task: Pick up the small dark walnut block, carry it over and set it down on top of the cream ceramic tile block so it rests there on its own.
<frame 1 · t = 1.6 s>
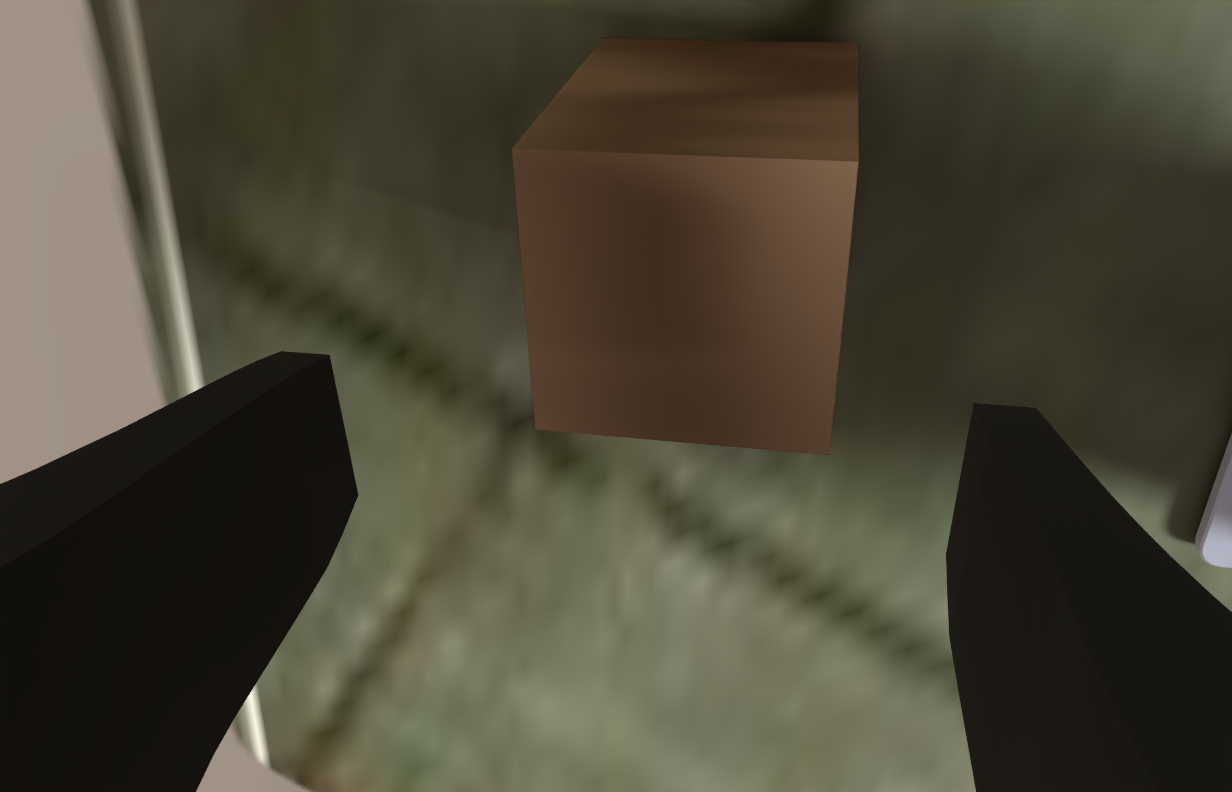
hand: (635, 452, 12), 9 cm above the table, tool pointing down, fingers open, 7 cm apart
walnut block: (724, 163, 20), on the table
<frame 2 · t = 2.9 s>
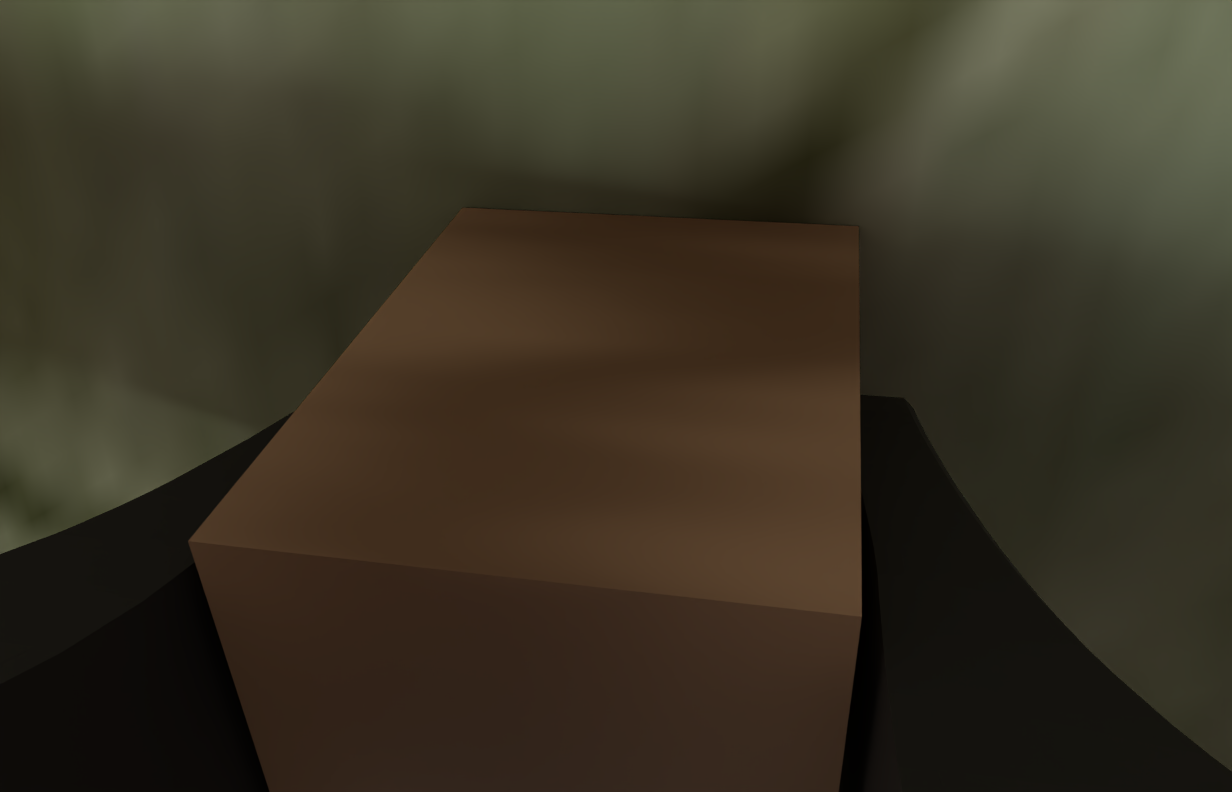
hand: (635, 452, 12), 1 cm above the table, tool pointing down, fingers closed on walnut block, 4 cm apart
walnut block: (655, 386, 13), on the table, touching gripper
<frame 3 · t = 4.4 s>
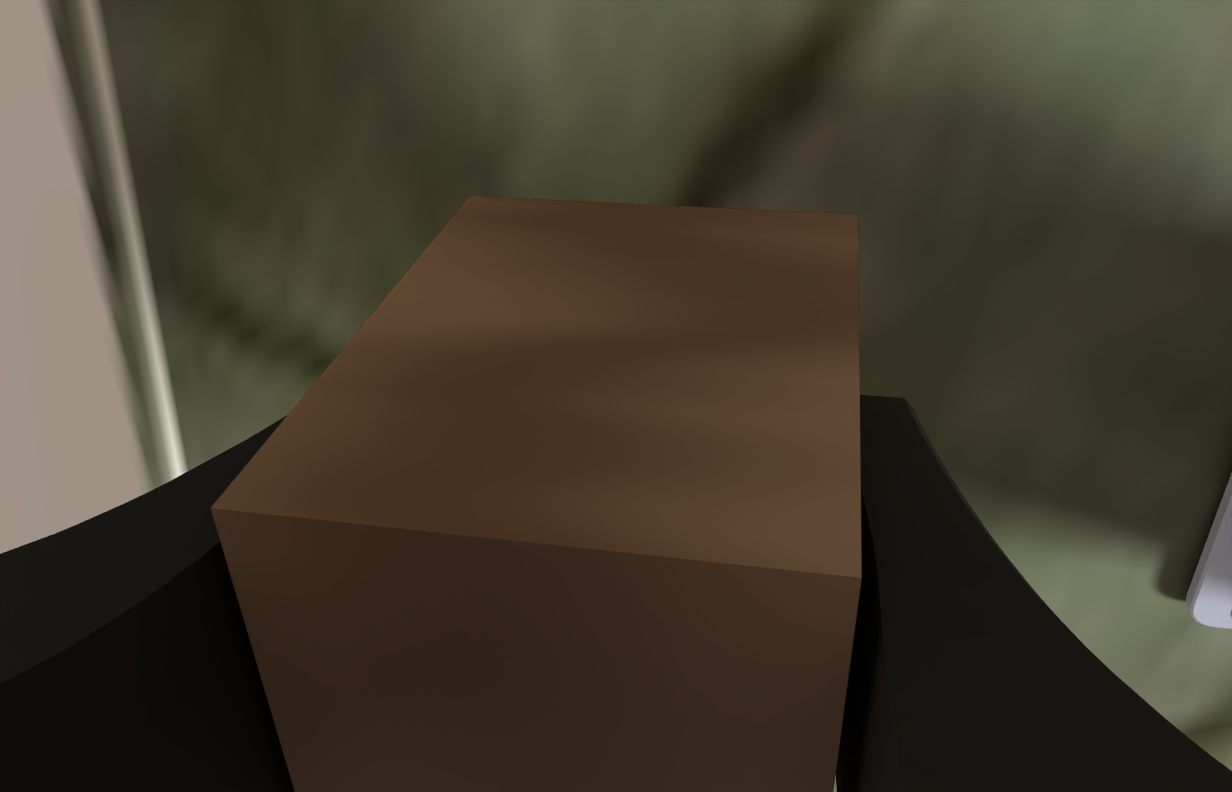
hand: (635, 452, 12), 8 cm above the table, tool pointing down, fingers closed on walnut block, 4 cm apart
walnut block: (658, 373, 13), point 7 cm above the table, touching gripper
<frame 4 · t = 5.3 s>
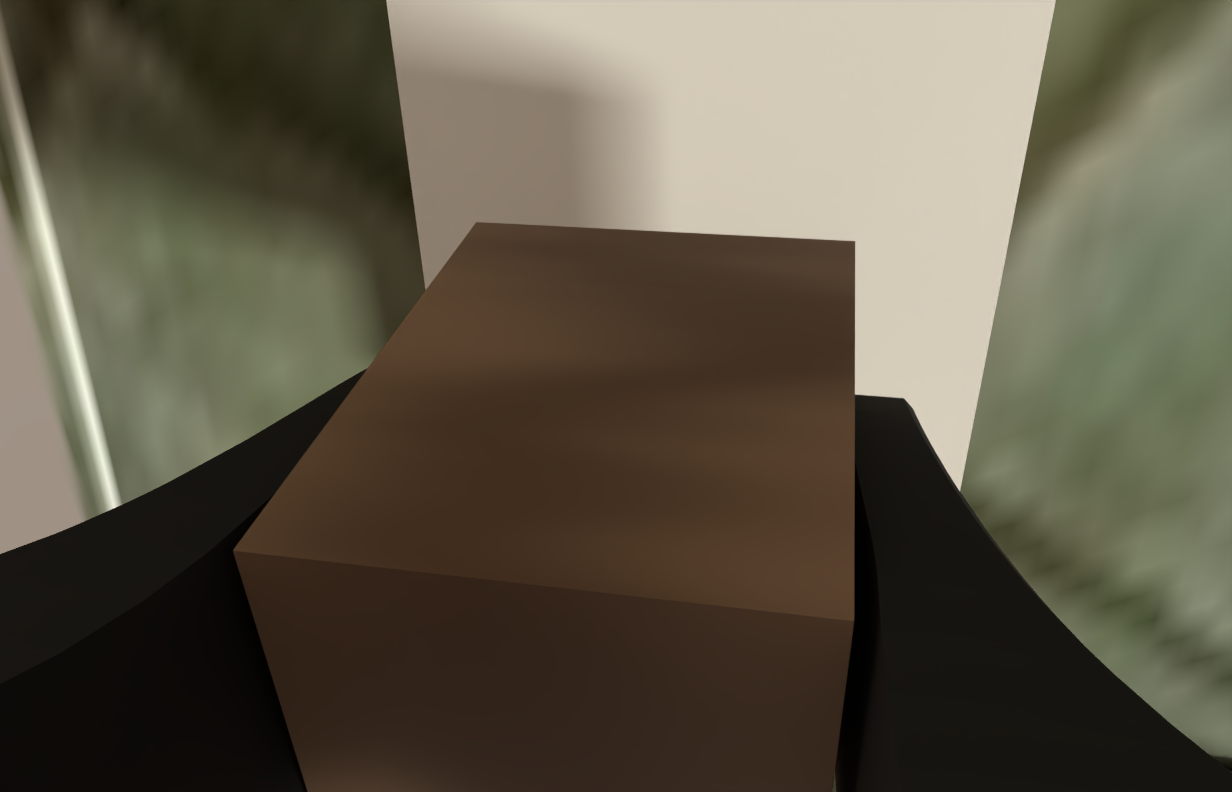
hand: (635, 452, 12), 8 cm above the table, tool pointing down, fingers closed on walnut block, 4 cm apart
cream tile block: (717, 189, 18), on the table
walnut block: (661, 391, 13), point 6 cm above the table, touching gripper
when the fingers open (6 cm above the table, at t = 6.0 s): walnut block drops 2 cm, resting on cream tile block.
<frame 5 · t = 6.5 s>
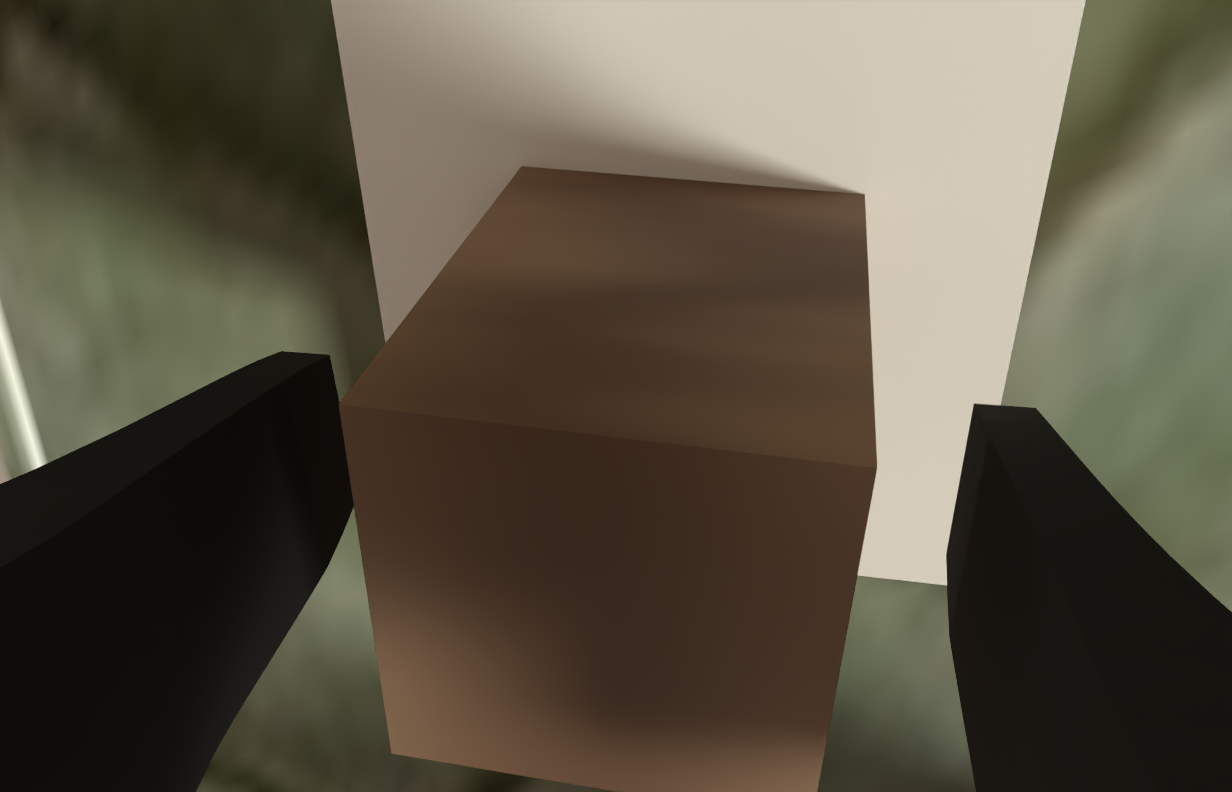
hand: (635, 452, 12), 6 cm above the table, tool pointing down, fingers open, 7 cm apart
cream tile block: (704, 226, 17), on the table, touching walnut block
walnut block: (680, 331, 15), point 2 cm above the table, touching cream tile block
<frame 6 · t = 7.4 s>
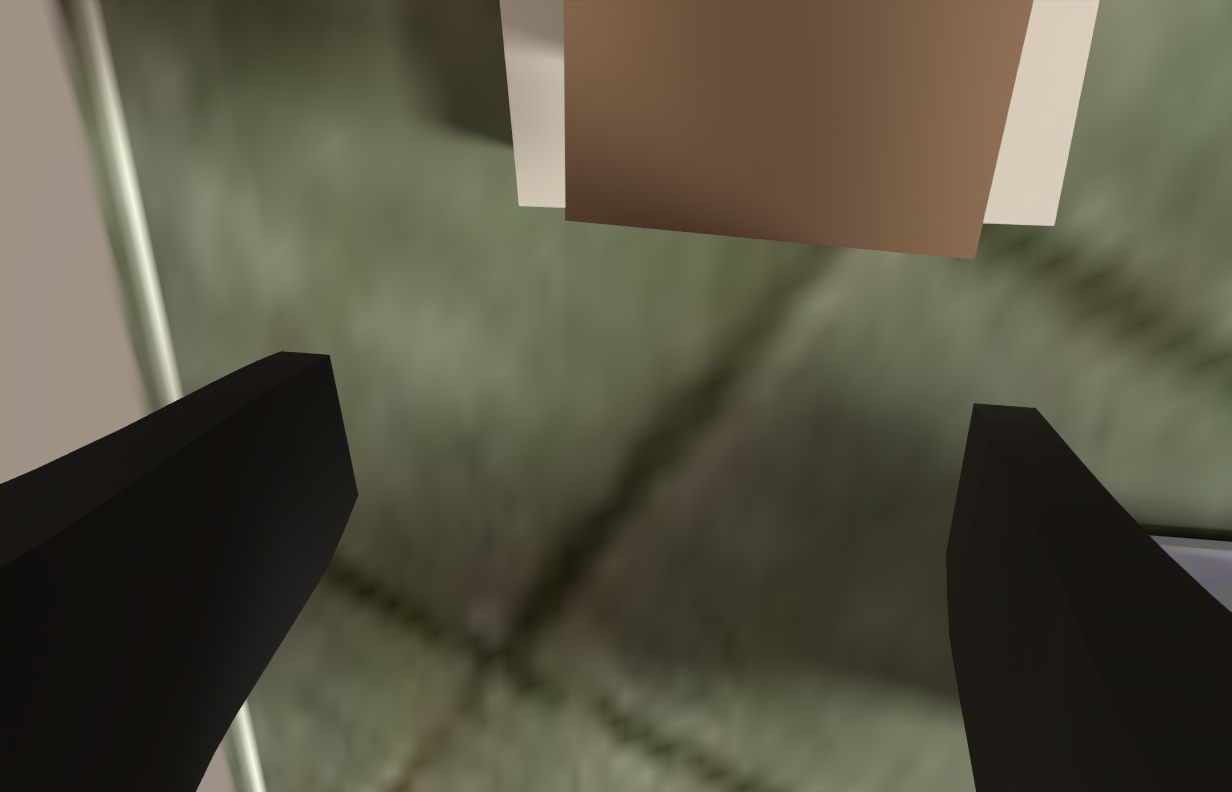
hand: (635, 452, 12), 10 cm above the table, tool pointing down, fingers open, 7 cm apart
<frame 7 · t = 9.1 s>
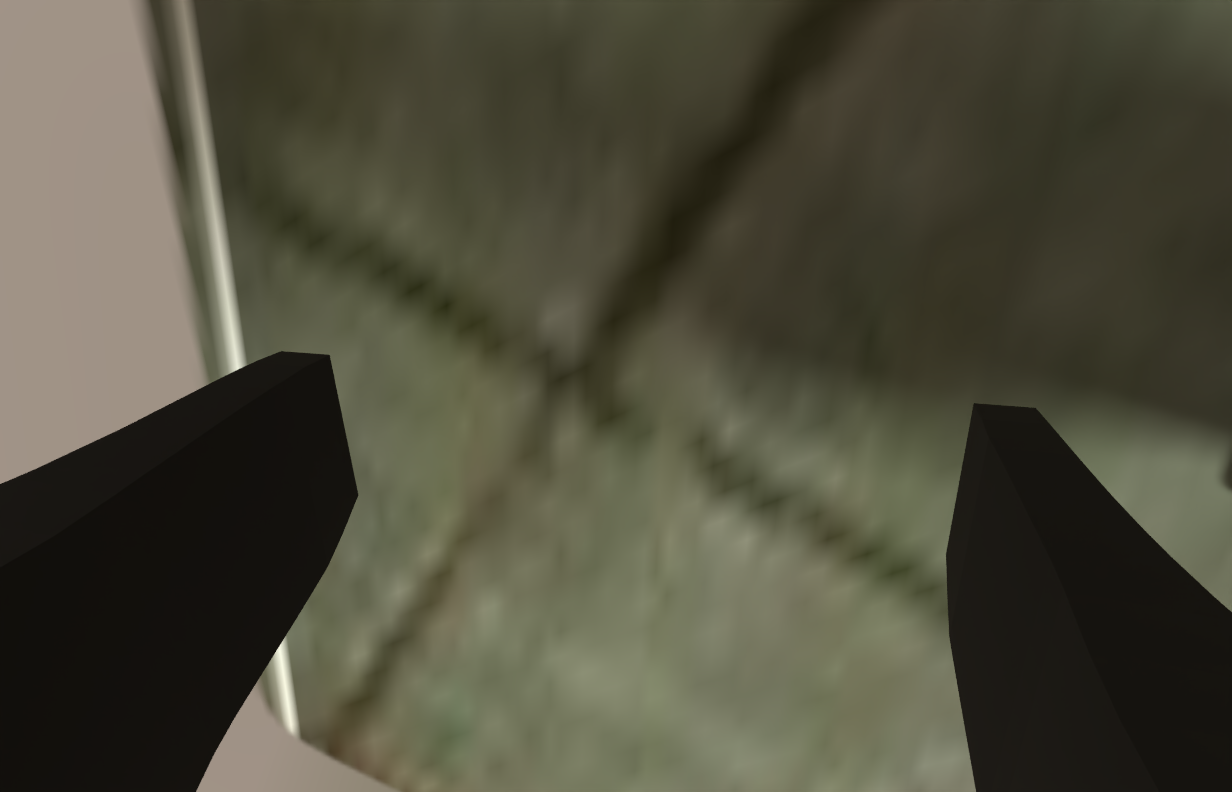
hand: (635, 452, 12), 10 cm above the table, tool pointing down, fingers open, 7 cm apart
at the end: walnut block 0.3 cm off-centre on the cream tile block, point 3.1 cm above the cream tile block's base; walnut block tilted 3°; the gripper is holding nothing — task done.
